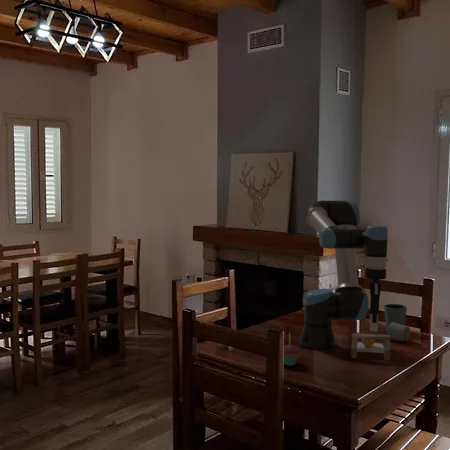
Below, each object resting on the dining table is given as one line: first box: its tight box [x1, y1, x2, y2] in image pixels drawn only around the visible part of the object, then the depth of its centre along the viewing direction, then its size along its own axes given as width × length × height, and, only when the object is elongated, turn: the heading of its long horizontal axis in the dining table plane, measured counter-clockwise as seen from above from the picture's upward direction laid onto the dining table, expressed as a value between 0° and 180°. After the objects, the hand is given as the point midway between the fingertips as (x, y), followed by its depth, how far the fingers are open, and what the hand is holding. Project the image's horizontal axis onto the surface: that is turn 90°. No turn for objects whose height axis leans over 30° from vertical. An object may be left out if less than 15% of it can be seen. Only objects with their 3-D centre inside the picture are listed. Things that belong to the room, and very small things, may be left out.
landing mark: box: [357, 341, 384, 354], centre depth 229 cm, size 13×13×1 cm
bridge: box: [350, 332, 391, 361], centre depth 215 cm, size 3×14×9 cm, turn 79°
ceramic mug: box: [386, 322, 411, 343], centre depth 241 cm, size 11×8×8 cm
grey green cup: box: [383, 303, 408, 332], centre depth 255 cm, size 10×10×12 cm
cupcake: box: [283, 331, 302, 367], centre depth 207 cm, size 9×8×12 cm
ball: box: [361, 338, 376, 347], centre depth 230 cm, size 6×6×6 cm
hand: (373, 330), depth 201 cm, fingers closed
